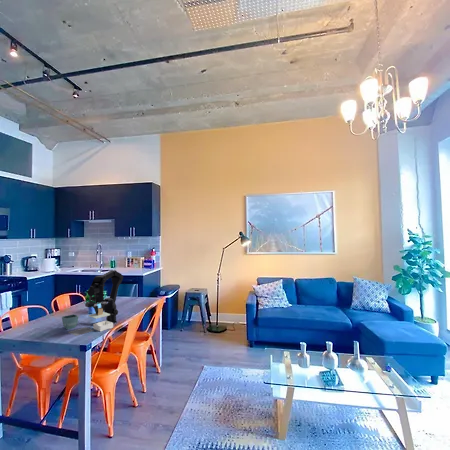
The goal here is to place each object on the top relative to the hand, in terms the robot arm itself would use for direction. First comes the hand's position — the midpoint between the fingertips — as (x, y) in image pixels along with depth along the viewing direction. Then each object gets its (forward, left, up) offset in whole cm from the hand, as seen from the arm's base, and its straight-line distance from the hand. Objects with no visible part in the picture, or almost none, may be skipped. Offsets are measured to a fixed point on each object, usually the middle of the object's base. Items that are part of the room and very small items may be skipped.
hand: (99, 314), depth 205 cm
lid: (0, 0, -1) cm, 1 cm away
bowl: (-2, +1, -11) cm, 12 cm away
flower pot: (+12, -21, -12) cm, 26 cm away
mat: (+11, -6, -11) cm, 17 cm away
